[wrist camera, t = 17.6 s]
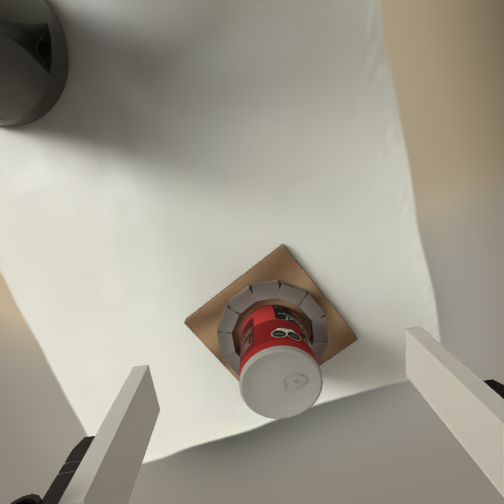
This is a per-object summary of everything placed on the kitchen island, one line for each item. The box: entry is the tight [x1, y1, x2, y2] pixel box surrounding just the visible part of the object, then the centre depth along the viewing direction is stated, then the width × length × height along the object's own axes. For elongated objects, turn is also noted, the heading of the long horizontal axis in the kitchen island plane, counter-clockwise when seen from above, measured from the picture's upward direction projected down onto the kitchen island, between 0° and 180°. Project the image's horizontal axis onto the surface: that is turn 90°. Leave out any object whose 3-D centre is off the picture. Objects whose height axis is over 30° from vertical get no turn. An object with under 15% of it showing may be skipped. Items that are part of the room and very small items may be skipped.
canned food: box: [239, 305, 323, 419], centre depth 34 cm, size 8×8×11 cm
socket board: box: [184, 244, 358, 381], centre depth 40 cm, size 16×16×3 cm
